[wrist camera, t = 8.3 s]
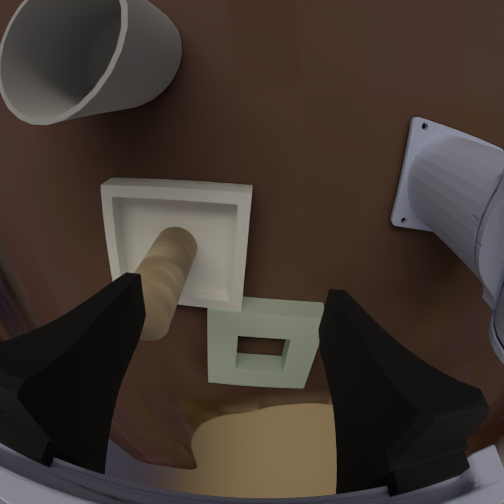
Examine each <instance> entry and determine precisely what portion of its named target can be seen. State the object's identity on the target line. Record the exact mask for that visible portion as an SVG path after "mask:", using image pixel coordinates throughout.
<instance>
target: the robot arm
mask: <svg viewBox="0 0 504 504" xmlns="http://www.w3.org/2000/svg"><path fill="white" fill-rule="evenodd" d="M423 123H425V129H422V124H423ZM402 218H405V220H404V221H403V222H401V219H402ZM390 220H391V222H392V224H393V225H394V226H399V227H406V228H412V229H419V230H426V231H432V232H434V233H435V234H436V235H437V236H438V237H439V238H440V239H441V240H442V241H443V242H444V243H445V244H446V245H447V246H448V247H449V248H450V249H451V250H452V251H453V252H454V253H455V254H456V255H457V256H458V257H459V258H460V259H461V260H462V261H463V262H464V263H465V264H466V265H467V266H468V268H469V269H470V270H471V271H472V272H473V273H474V274H475V275H476V276H477V277H478V278H479V280H480V281H481V282H482V284H483V288H484V291H483V299H484V300H485V301H486V302H487V304H488V305H489V306H490V307H491V309H492V310H493V312H492V315H491V318H490V322H489V338H490V342H491V345H492V347H493V349H494V351H495V353H496V355H497V356H498V358H499V359H500V361H501V362H502V363H503V364H504V151H503V150H502V149H501V148H499V147H497V146H494V145H492V144H490V143H488V142H485V141H483V140H481V139H478V138H476V137H473V136H471V135H468V134H466V133H463V132H460V131H458V130H455V129H452V128H449V127H447V126H444V125H441V124H438V123H435V122H432V121H429V120H426V119H423V118H419V117H414V118H413V119H412V120H411V123H410V129H409V135H408V141H407V146H406V152H405V157H404V162H403V167H402V171H401V176H400V181H399V185H398V189H397V194H396V198H395V202H394V206H393V210H392V214H391V218H390ZM145 318H146V310H145V304H144V296H143V289H142V281H141V274H137V273H128V272H126V273H124V274H123V275H121V276H120V277H118V278H117V279H116V280H114V281H113V282H111V283H110V284H109V285H107V286H106V287H105V288H103V289H102V290H100V291H99V292H98V293H96V294H95V295H94V296H92V297H91V298H89V299H88V300H86V301H85V302H83V303H82V304H80V305H79V306H77V307H76V308H74V309H73V310H71V311H70V312H68V313H66V314H65V315H63V316H61V317H59V318H58V319H56V320H54V321H52V322H50V323H48V324H46V325H44V326H42V327H40V328H37V329H35V330H33V331H31V332H28V333H26V334H23V335H21V336H18V337H15V338H12V339H9V340H6V341H3V342H0V499H1V500H3V501H4V502H6V503H8V504H119V503H118V502H121V503H124V504H501V503H502V502H504V468H503V466H502V463H501V461H500V458H499V455H498V453H497V450H496V448H495V445H491V446H489V447H486V448H484V449H482V450H479V451H477V452H475V453H473V454H471V455H469V456H468V457H466V454H465V452H464V451H465V450H466V449H467V448H468V444H467V441H466V439H467V438H468V437H469V436H470V435H471V434H472V433H473V432H474V431H475V430H476V429H477V428H478V427H479V426H480V425H481V424H482V423H483V422H484V421H485V420H486V418H487V416H488V414H489V411H490V407H489V405H488V403H487V401H486V399H485V397H484V395H483V393H482V391H481V390H480V389H478V388H476V387H473V386H471V385H468V384H466V383H463V382H461V381H458V380H456V379H454V378H452V377H450V376H448V375H446V374H445V373H443V372H441V371H439V370H437V369H436V368H434V367H432V366H431V365H429V364H427V363H426V362H424V361H423V360H421V359H420V358H418V357H417V356H415V355H414V354H413V353H411V352H410V351H409V350H407V349H406V348H405V347H403V346H402V345H401V344H400V343H398V342H397V341H396V340H395V339H394V338H393V337H391V336H390V335H389V334H388V333H387V332H386V331H385V330H384V329H383V328H382V327H381V326H379V325H378V324H377V323H376V322H375V321H374V320H373V319H372V318H371V317H370V316H369V315H368V314H367V313H366V312H365V310H364V309H363V308H362V307H361V306H360V305H359V304H358V303H357V302H356V301H355V300H354V299H353V298H352V297H351V296H350V295H349V294H348V293H347V292H346V291H345V290H331V289H329V293H328V297H327V300H326V304H325V307H324V311H323V315H322V318H321V321H320V325H319V328H318V333H319V343H320V351H321V356H322V360H323V364H324V368H325V372H326V377H327V381H328V385H329V389H330V393H331V398H332V403H333V409H334V420H335V431H336V447H337V484H336V486H337V487H336V494H334V495H325V496H314V497H299V498H235V497H220V496H209V495H200V494H191V493H185V492H177V491H172V490H166V489H161V488H156V487H150V486H146V485H141V484H137V483H132V482H129V481H124V480H121V479H117V478H114V477H110V476H107V475H105V464H106V454H107V446H108V439H109V433H110V427H111V422H112V417H113V412H114V408H115V404H116V400H117V396H118V392H119V388H120V386H121V383H122V380H123V377H124V375H125V372H126V370H127V367H128V365H129V363H130V360H131V358H132V355H133V353H134V351H135V348H136V346H137V343H138V341H139V339H140V336H141V333H142V329H143V325H144V322H145ZM113 500H114V501H113ZM115 501H117V502H115Z"/></svg>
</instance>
